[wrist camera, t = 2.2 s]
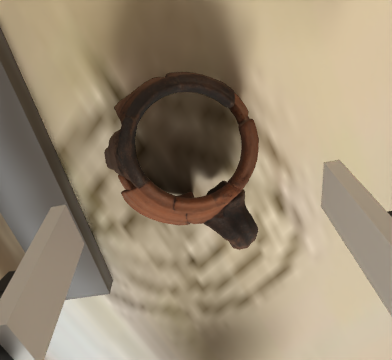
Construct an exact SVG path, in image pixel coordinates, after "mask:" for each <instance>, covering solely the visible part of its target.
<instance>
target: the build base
mask: <svg viewBox="0 0 392 360" xmlns="http://www.w3.org/2000/svg"><path fill="white" fill-rule="evenodd" d="M61 205H66V206H67V209H68V211H69V213H70V215H71V217H72V219H73V221H74V223H75V225H76V227H77V229H78V231H79V233H80V236H81V238H82V240H83V242H84V247H83V249H82V252H81V255H80V258H79V261H78V264H77V267H76V269H75V272H74V275H73V278H72V281H71V284H70V287H69V289H68V292H67V295H66V298H65V300H68V299H75V298H83V297H90V296H98V295H105V294H110V290H111V286H112V282H113V280H112V277H111V275H110V273H109V271H108V268H107V266H106V264H105V262H104V259H103V257H102V255H101V253H100V250H99V248H98V246H97V244H96V241H95V239H94V237H93V235H92V232H91V230H90V228H89V226H88V223H87V221H86V219H85V217H84V214H83V212H82V210H81V208H80V205H79V203H78V201H77V199H76V196H75V194H74V192H73V190H72V187H71V185H70V183H69V181H68V178H67V176H66V174H65V172H64V169H63V167H62V165H61V163H60V160H59V158H58V156H57V154H56V152H55V149H54V147H53V145H52V143H51V140H50V138H49V136H48V134H47V131H46V129H45V127H44V125H43V122H42V120H41V118H40V116H39V113H38V111H37V109H36V107H35V104H34V102H33V100H32V98H31V95H30V93H29V91H28V89H27V86H26V84H25V82H24V80H23V77H22V75H21V73H20V71H19V68H18V66H17V64H16V62H15V59H14V57H13V55H12V53H11V50H10V48H9V46H8V44H7V41H6V39H5V37H4V35H3V32H2V30H1V28H0V280H1V279H2V278H3V277H4V276H5V275H6V274H7V273H8V272H9V271H15V270H17V268H18V266H19V264H20V262H21V261H22V259H23V257H24V255H25V253H26V251H27V250H28V248H29V246H30V244H31V242H32V241H33V239H34V237H35V235H36V233H37V232H38V230H39V228H40V226H41V224H42V223H43V221H44V219H45V217H46V215H47V214H48V212H49V210H50V208H51V207H55V206H61Z"/></svg>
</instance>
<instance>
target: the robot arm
mask: <svg viewBox="0 0 392 360" xmlns="http://www.w3.org/2000/svg"><path fill="white" fill-rule="evenodd" d="M321 207H322V209H323V210H324V212H325V213H326V215H327V216H328V218H329V220H330V221H331V223H332V224H333V226H334V227H335V229H336V231H337V232H338V234H339V235H340V237H341V238H342V240H343V241H344V243H345V245H346V246H347V248H348V249H349V251H350V252H351V254H352V255H353V257H354V259H355V260H356V262H357V263H358V265H359V266H360V268H361V270H362V271H363V273H364V274H365V276H366V277H367V279H368V280H369V282H370V284H371V285H372V287H373V288H374V290H375V291H376V293H377V294H378V296H379V298H380V299H381V301H382V302H383V304H384V305H385V307H386V309H387V310H388V312H389V313H390V315H391V316H392V211H389V212H387V211H386V210H385V209H384V208H383V207H382V206H381V205H380V204H379V202H378V201H377V200H376V199H375V198H374V197H373V196H372V195H371V194H370V193H369V191H368V190H367V189H366V188H365V187H364V186H363V185H362V184H361V183H360V182H359V181H358V179H357V178H356V177H355V176H354V175H353V174H352V173H351V172H350V171H349V170H348V168H347V167H346V166H345V165H344V164H343V163H342V162H341V161H340V160H335V161H329V162H324V170H323V185H322V200H321ZM83 247H84V242H83V240H82V238H81V236H80V233H79V231H78V229H77V227H76V225H75V223H74V221H73V219H72V217H71V215H70V213H69V211H68V209H67V206H66V205H61V206H55V207H51V208H50V210H49V212H48V214H47V215H46V217H45V219H44V221H43V223H42V224H41V226H40V228H39V230H38V232H37V233H36V235H35V237H34V239H33V241H32V242H31V244H30V246H29V248H28V250H27V251H26V253H25V255H24V257H23V259H22V261H21V262H20V264H19V266H18V268H17V270H15V271H9V272H8V273H7V274H6V275H5V276H4V277H3V278H2V279H1V280H0V360H44V358H45V355H46V352H47V349H48V346H49V344H50V341H51V338H52V335H53V332H54V329H55V326H56V324H57V321H58V318H59V315H60V312H61V309H62V307H63V304H64V301H65V298H66V295H67V292H68V289H69V287H70V284H71V281H72V278H73V275H74V272H75V269H76V267H77V264H78V261H79V258H80V255H81V252H82V249H83Z"/></svg>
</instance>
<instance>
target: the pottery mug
mask: <svg viewBox="0 0 392 360" xmlns="http://www.w3.org/2000/svg"><path fill="white" fill-rule="evenodd" d="M177 92H195V93H200V94H203V95H206V96H208V97H211V98H213V99H215V100H216V101H218V102H220V103H221V104H222V105H224V106H225V107H228V108H229V109H230V111H231V112H232V113H233V115H234V116H235V118H236V120H237V122H238V124H239V127H238V128H239V132H240V135H241V143H242V150H241V157H240V161H239V164H238V167H237V169H236V171H235V173H234V175H233V176H232V177H231V179H230V180H228V183H227V182H226V181H222V182H220V183H219V184H218V185H217V186H216V187H214V188H213V189H211V190H210V191H208V193H207V195H206V196H203V197H197V198H194V195H193V193H192V192H188V193H185V194H183V195H179V196H174V195H172V194H169V193H167V192H165V191H163V190H162V189H160V188H159V187H157V186H156V185H155V184H154V183H153V182H152V181H151V180H149V179H148V178H147V177H146V175H145V174H144V172H143V171H142V169H141V167H140V165H139V162H138V160H137V156H136V150H135V136H136V130H137V125H138V123H139V121H140V119H141V117H142V116H143V114H144V113H145V111H146V110H147V109H148V108H149V107H150V106H151V105H152V104H153V103H155V102H156V101H157V100H159V99H161V98H162V97H164V96H167V95H170V94H173V93H177ZM114 109H115V110H116V113H117V115H118V117H119V119H120V121H121V124H122V126H121V129H120V130H119V131H117V132H115V133H114V134H113V136H112V137H111V138H110V140H109V146H108V148H107V149H106V150H105V159H106V164H107V167H108V168H110V169H113V170H114V171H115V172H116V173H118V174H119V175H118V177H119V180H120V181H121V183H122V185H123V187H124V188H125V189H126V190H124V191H122V192H121V194H122V196H123V197H124V200H125V201H126V202H127V203H128V204H129V205H130V206H131V207H132V208H133V209H134V210H136V211H137V212H139V213H140V214H142V215H144V216H146V217H148V218H150V219H153V220H156V221H159V222H163V223H168V224H174V225H188V224H190V223H192V224H202V223H204V224H205V225H207V226H209V227H210V228H212V229H213V230H214V231H216V232H217V233H218V234H220V235H221V236H222V237H223V238H224V239H226V240H228V241H229V242H230V244H231V246H232V247H233V248H236V249H239V250H240V249H244V248H248V247H249V245H250V244H251V243H252V242H253V241H255V239H256V236H257V233H258V227H257V225H256V223H255V221H254V219H253V218H252V216H251V214H250V213H249V212H248V210H247V208H246V206H245V201H244V198H245V191H244V190H243V188H244V187H245V185H246V184H247V182H248V181H249V178H250V177H251V175H252V173H253V171H254V168H255V165H256V162H257V157H258V143H259V138H258V134H257V129H256V126H255V123H254V120H253V119H249V117H248V110H247V108H246V106H245V105H244V103H243V102H242V101H241V99H240V98H239V97H238V96H237V95H236V94H235V93H234V91H233V90H232V89H231V88H230V87H228V86H227V85H226V84H224V83H223V82H221V81H218V80H216V79H213V78H210V77H207V76H204V75H200V74H196V73H189V72H176V73H168V74H166V76H165V77H162V78H161V77H155V78H152V79H151V80H149V81H147V82H145V83H144V84H142V85H141V86H140V87H138V88H137V89H136V90H135V91H133V92H132V93H131V94H129V95H128V96H126V97H125V98H124V99H122V100H121V101H120V102H119V103H118V104H117V105H116V106H115V107H114Z"/></svg>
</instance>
